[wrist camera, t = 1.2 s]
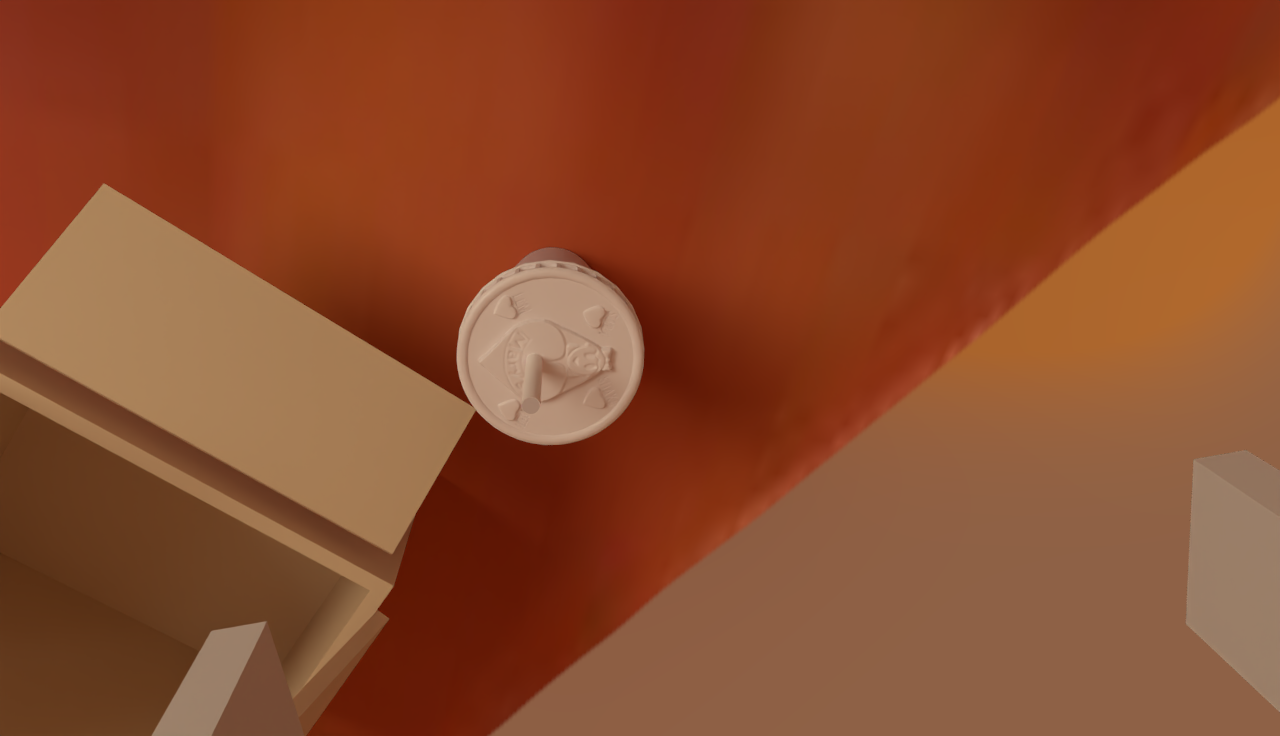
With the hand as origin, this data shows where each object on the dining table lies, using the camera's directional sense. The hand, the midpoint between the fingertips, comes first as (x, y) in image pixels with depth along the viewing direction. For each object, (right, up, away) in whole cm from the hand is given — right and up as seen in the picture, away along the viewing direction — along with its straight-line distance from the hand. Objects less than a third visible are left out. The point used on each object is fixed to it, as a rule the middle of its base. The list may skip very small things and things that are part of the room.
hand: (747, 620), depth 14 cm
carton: (-22, -2, +30) cm, 37 cm away
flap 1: (-15, +3, +20) cm, 25 cm away
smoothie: (-5, +7, +28) cm, 29 cm away
